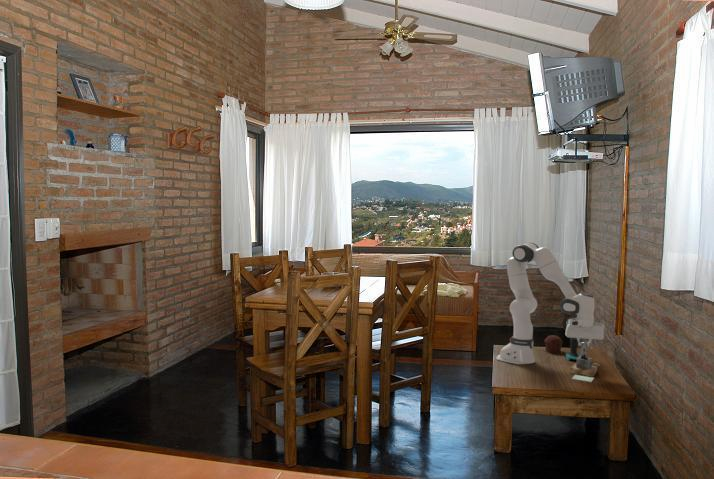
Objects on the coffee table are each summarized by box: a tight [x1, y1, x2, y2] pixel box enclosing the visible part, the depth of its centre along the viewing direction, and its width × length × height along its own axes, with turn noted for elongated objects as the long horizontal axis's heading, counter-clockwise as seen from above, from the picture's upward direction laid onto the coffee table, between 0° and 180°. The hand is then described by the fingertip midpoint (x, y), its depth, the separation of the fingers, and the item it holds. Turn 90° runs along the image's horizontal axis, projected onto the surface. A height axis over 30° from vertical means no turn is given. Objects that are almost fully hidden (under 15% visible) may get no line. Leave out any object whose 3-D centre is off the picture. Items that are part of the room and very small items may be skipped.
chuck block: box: [570, 356, 600, 378], centre depth 319 cm, size 14×12×8 cm
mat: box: [571, 374, 595, 383], centre depth 308 cm, size 10×8×1 cm
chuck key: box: [580, 341, 588, 359], centre depth 319 cm, size 8×3×10 cm, turn 168°
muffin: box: [543, 334, 564, 354], centre depth 365 cm, size 12×11×10 cm
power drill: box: [564, 317, 581, 361], centre depth 344 cm, size 26×9×25 cm, turn 168°
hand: (583, 346), depth 319 cm, fingers closed on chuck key, 3 cm apart
